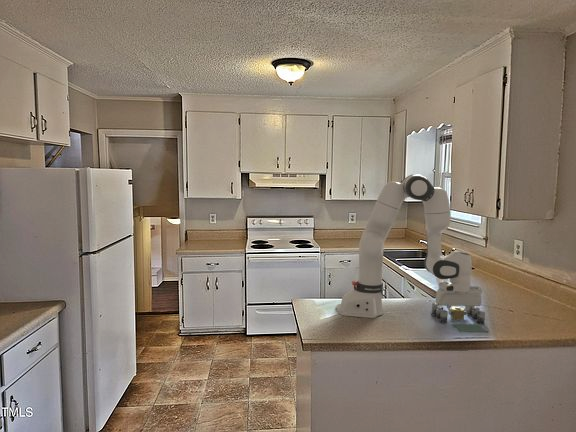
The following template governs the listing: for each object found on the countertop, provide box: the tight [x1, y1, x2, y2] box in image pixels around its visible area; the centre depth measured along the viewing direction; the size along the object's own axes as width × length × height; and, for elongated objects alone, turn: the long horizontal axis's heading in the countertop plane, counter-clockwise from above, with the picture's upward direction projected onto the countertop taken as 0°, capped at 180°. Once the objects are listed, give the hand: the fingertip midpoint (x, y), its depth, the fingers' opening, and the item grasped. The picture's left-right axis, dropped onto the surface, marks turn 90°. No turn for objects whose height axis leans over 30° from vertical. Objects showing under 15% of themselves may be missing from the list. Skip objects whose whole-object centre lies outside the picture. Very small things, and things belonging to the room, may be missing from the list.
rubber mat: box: [451, 323, 489, 333], centre depth 171 cm, size 12×8×1 cm, turn 91°
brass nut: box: [450, 306, 465, 321], centre depth 183 cm, size 5×6×5 cm
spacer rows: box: [431, 302, 486, 325], centre depth 183 cm, size 20×13×5 cm, turn 91°
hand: (457, 314), depth 183 cm, fingers closed on brass nut, 5 cm apart
